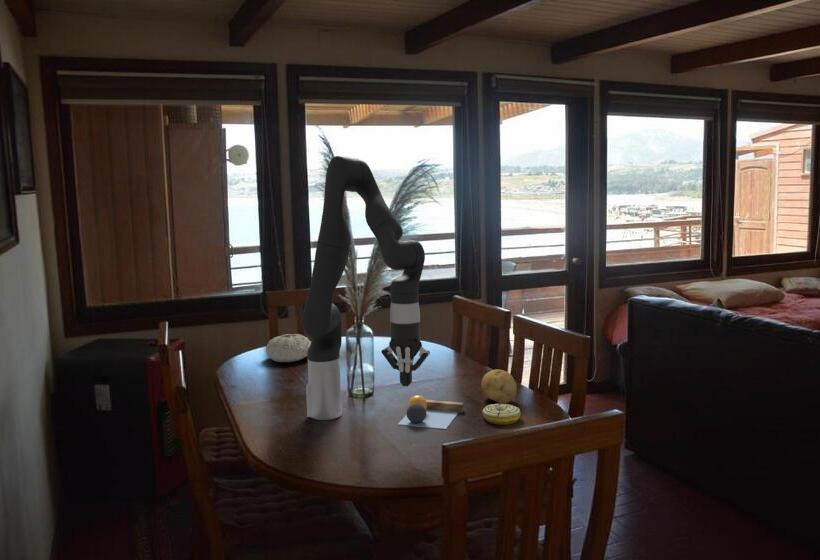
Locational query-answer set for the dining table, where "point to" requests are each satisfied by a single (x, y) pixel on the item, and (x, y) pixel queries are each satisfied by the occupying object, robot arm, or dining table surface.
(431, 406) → the oak rail
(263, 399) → the dining table surface
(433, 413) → the light blue square plate
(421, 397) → the orange ball
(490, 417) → the decorated donut
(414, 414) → the dark gray ball
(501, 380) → the potato
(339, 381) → the robot arm
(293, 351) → the decorative shell
